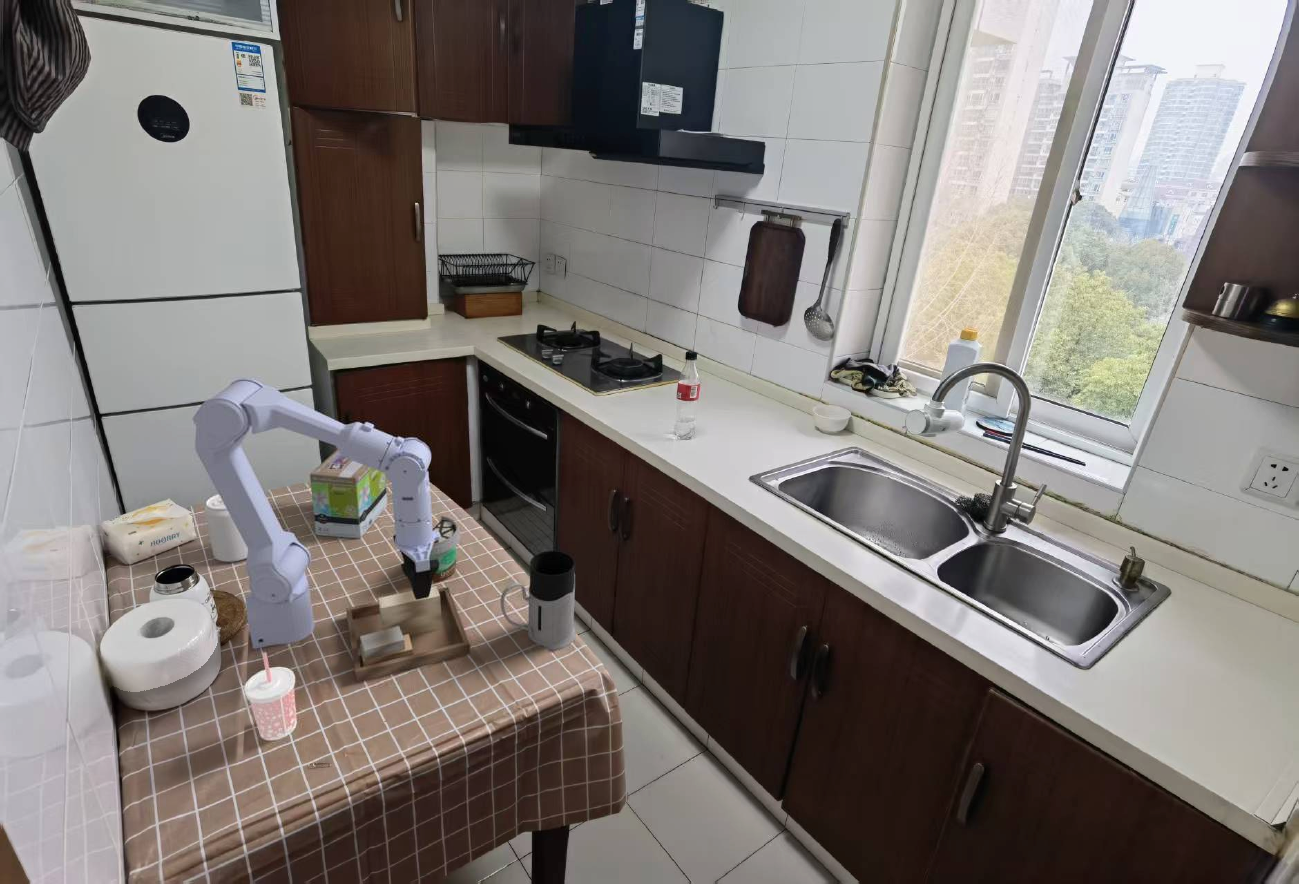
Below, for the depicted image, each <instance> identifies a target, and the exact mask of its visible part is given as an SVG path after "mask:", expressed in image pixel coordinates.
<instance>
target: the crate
mask: <svg viewBox="0 0 1299 884" xmlns="http://www.w3.org/2000/svg"><path fill="white" fill-rule="evenodd" d="M438 591H439V594H440V602H441V620H442V629H440V630H435V631H431V632H427V633H423V634H418V635H414V636H410V641H411V645H412V648H413V655H410V656H406V657H402V658H398V659H394V660H390V661H386V662H382V663H378V664H374V665H370V666H365V667H363V661H362V655H361V647H360V645H361V639H360V636H363V635H367V634H371V633H374V632H378V631H382V629H381V619H380V609H379V601H374V602H369V603H365V604H359V605H354V606H351V607H345V612H346V613H345V614H346V619H347V625H348V632H349V633H348V634H349V639H350V647H351V653H352V660H353V667H354V668H353V669H354V675H355V680H356V681H355V682H356V684H358V683H361V682H365V681H369V680H373V679H377V678H381V677H385V676H389V675H393V674H398V673H400V672H405V671H409V670H413V669H417V668H420V667H425V666H428V665H432V664H436V663H440V662H445V661H448V660H453V659H456V658H461V657H463V656H468V655H470V654H471V644H470V641H469V639H468V635H467V633H466V630H465V628H464V626H463V623H462V620H461V617H460V615H459V612H458V610H457V607H456V604H455V602H454V599H453V596H452V593H451V591H450V588H449V587H448V586H447V587H442V588H438Z"/></svg>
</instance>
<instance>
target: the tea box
mask: <svg viewBox="0 0 1299 884" xmlns="http://www.w3.org/2000/svg"><path fill="white" fill-rule="evenodd" d="M309 481H310V488H311V499H312V500H311V501H312V507H313V508H312V509H313V517H314V527H315V535H316V536H325V537H333V538H334V537H335V538H336V537H337V538H349V539H350V538H351V539H361V538H362V537H363V535H365V533H366V532H367V531H368V530H369V529H370V527H371V526H373V524H374V522H375V521H376V520H378V518H379V516H380V515H381V514H382V513H383V512H384V510H385V509H386V508H387V506H388V496H387V495H388V494H387V484H386V481H387V480H386V474H385V473H383V472H380V471H379V470H375V469H373V468H370V467H368V466H365V465H363V464H360V463H357V462H355V461H352V460H350V459H347V458H345V457H342V456H341V455H340V453H339V451H338V449H336V450H335V451H334V452H333V453H332V454H331V455H330V456H329V457H328V458H326V459H325V460H324V461H323V462H321V464H320V465H318V466H317V467H316V468H315V469H314V470H313V471H311V472H310V473H309Z"/></svg>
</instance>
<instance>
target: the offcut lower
mask: <svg viewBox="0 0 1299 884" xmlns="http://www.w3.org/2000/svg"><path fill="white" fill-rule="evenodd" d="M403 638H404V642H405V650H402V651H398V652H395V653H391V654H388V655H384V656H381V657H377V658H374V659H370V660H367V661H366V660H365V657H364V654H363V650H362V647H361V645H360V647H361V655H362V661H363V667H365V666H370V665H374V664H378V663H382V662H386V661H390V660H394V659H398V658H402V657H406V656H410V655H413V648H412V645H411V641H410V637H409V634H406V635H403Z"/></svg>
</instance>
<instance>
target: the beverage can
mask: <svg viewBox="0 0 1299 884" xmlns="http://www.w3.org/2000/svg"><path fill="white" fill-rule="evenodd" d="M203 510H204V511H203V512H204V517H205V521H206V525H207V529H208V535H209V540H210V541H209V542H210V545H211V550H212V554H213V557H214V558H215V559H216V560H218V561H221V562H227V563H229V562H239V561H242V560H245V559H246V560H247V554H248V548H247V546H246V544H245V542H244V540H243V538H242V536H241V535H240V533H239V531H238V529H237V527H236V525H235V523H234V521H233V520H232V518H231V516H230V514H229V512H228V510H227V508H226V507H225V505H224V503H223V501H222V499H221V497H220V495H219V493H218V494H215V495H213V496H211V497H210V498H208V499H207V500H206V503H205V507H204V509H203Z"/></svg>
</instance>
